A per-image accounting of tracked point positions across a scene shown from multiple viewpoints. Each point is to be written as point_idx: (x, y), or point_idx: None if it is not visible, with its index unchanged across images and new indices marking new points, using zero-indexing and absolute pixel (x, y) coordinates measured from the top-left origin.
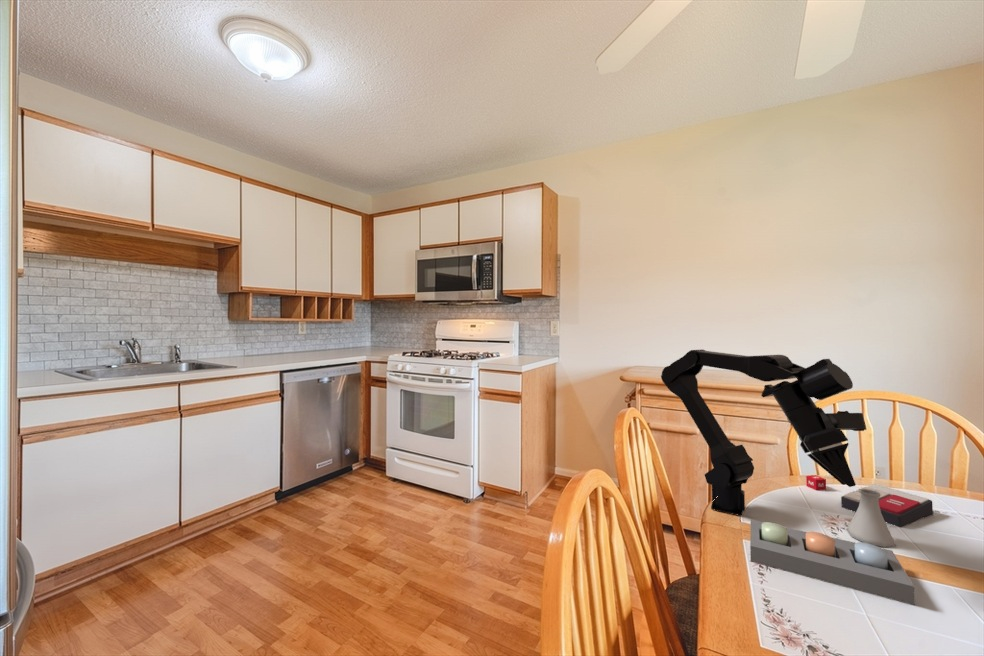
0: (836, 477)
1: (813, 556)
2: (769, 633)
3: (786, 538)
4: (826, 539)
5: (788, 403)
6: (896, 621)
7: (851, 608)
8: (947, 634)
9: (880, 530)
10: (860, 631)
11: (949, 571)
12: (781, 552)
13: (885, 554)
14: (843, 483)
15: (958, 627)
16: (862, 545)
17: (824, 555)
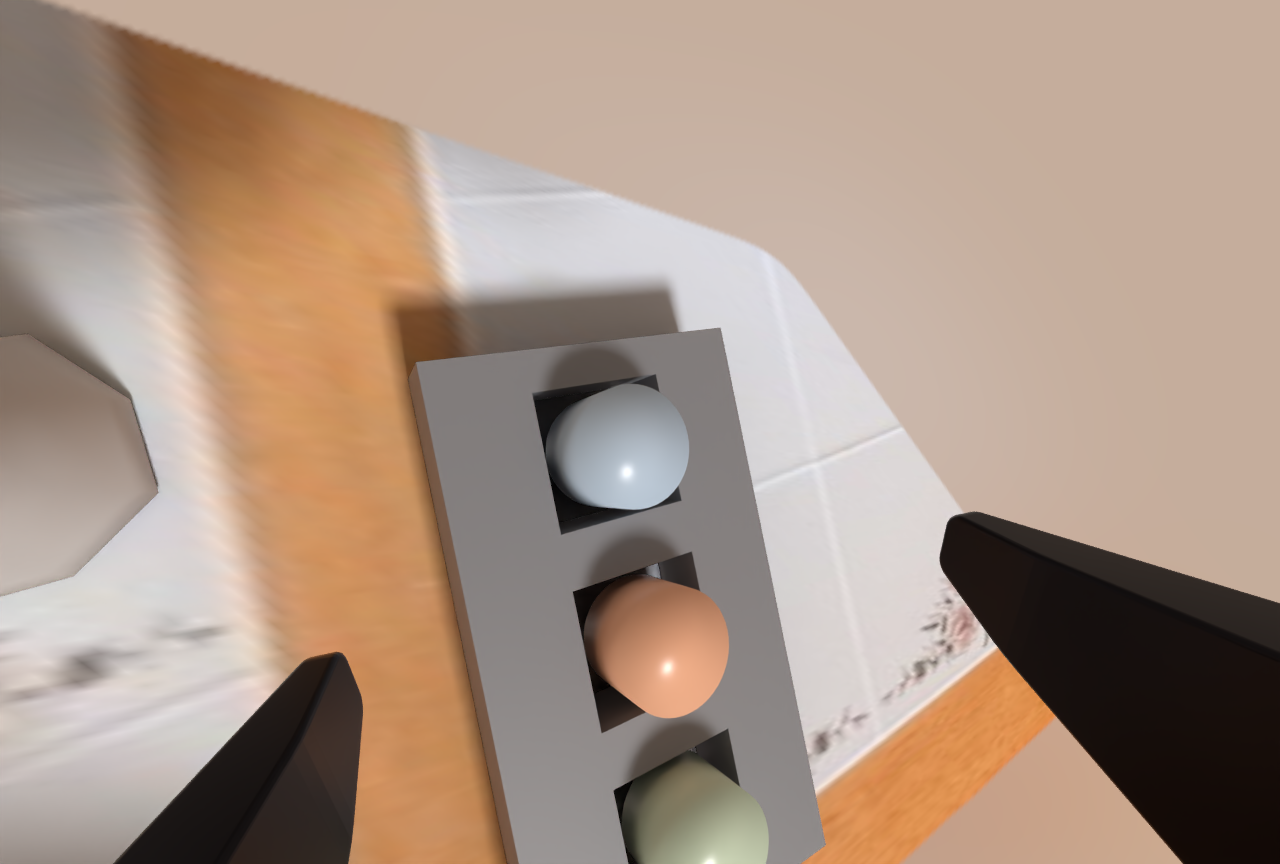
0: (340, 837)
1: (744, 635)
2: None
3: (711, 771)
4: (679, 621)
5: None
6: (796, 397)
7: (815, 493)
8: (768, 296)
9: (39, 399)
10: (885, 469)
11: (242, 153)
12: (796, 735)
13: (652, 391)
14: (362, 705)
15: (717, 262)
16: (624, 478)
17: None
